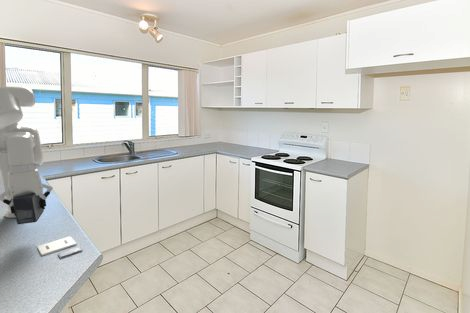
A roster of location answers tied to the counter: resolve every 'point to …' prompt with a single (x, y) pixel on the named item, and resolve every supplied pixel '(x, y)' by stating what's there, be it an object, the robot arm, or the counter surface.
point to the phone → (69, 252)
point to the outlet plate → (56, 245)
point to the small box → (27, 208)
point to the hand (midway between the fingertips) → (29, 211)
